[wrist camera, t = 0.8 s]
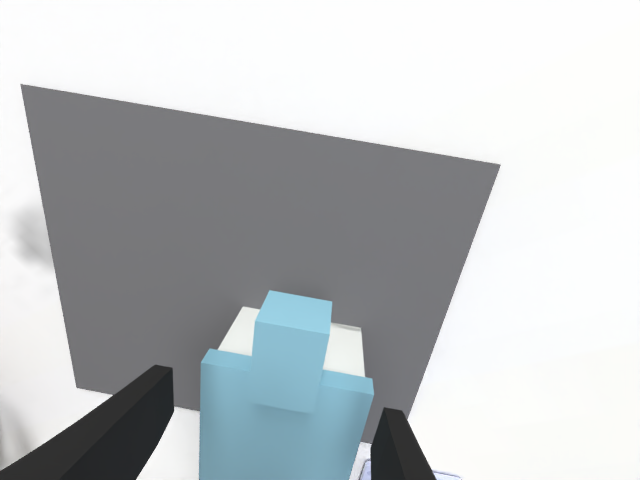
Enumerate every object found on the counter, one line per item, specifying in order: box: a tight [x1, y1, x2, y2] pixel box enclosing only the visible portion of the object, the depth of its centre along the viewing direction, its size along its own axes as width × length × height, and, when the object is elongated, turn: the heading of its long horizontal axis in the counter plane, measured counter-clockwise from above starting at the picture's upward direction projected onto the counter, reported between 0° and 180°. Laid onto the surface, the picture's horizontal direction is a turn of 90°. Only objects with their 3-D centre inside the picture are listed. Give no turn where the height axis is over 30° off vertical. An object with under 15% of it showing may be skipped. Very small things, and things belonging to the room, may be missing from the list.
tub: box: [218, 307, 365, 377], centre depth 19 cm, size 9×8×4 cm
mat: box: [21, 84, 500, 444], centre depth 20 cm, size 22×26×1 cm
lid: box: [199, 290, 374, 480], centre depth 15 cm, size 14×9×2 cm, turn 171°
